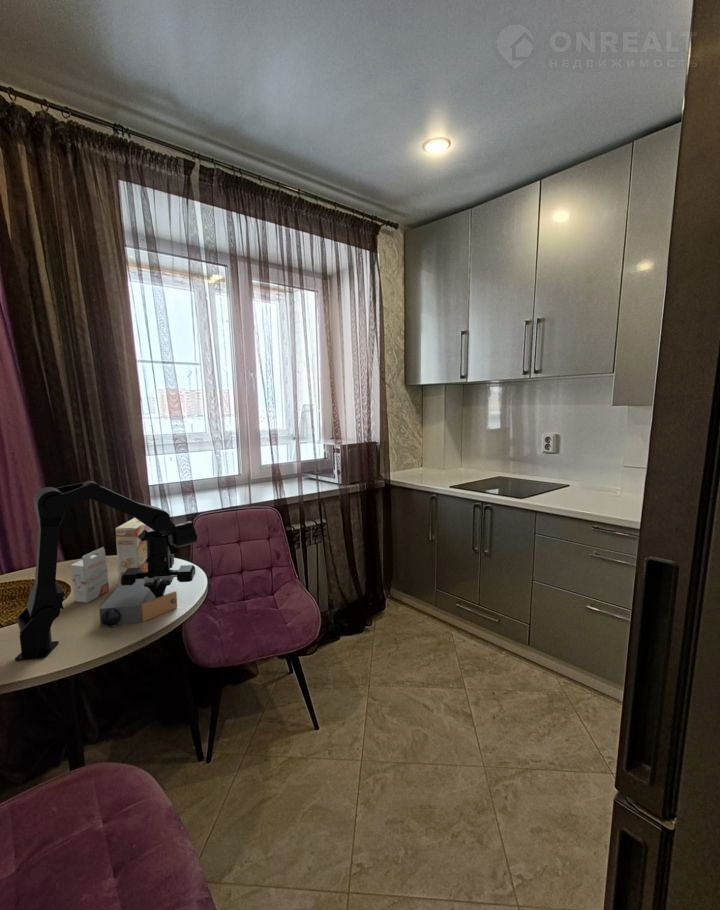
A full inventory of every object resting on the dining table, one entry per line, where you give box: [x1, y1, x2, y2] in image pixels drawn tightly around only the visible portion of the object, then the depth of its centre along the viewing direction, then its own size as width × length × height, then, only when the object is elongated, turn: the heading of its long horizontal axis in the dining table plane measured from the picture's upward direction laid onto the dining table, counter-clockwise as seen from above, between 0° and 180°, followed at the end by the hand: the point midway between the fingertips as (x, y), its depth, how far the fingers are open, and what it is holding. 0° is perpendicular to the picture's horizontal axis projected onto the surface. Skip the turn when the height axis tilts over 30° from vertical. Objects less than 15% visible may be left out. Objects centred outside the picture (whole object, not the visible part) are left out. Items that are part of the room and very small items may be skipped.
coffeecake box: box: [114, 517, 155, 586], centre depth 142 cm, size 15×7×20 cm, turn 1°
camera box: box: [98, 578, 162, 627], centre depth 122 cm, size 21×10×5 cm, turn 10°
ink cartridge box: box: [70, 546, 110, 604], centre depth 128 cm, size 9×5×15 cm, turn 168°
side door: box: [141, 590, 178, 623], centre depth 118 cm, size 10×2×5 cm, turn 145°
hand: (160, 602), depth 121 cm, fingers closed
